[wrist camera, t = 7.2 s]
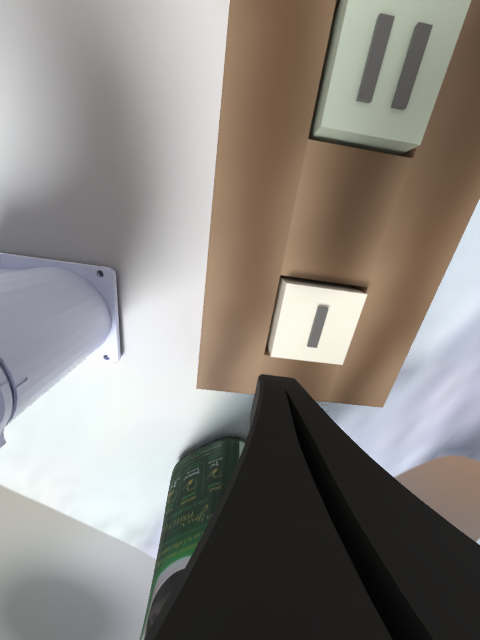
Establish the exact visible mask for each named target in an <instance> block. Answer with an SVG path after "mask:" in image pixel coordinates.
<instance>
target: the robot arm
mask: <svg viewBox="0 0 480 640" xmlns="http://www.w3.org/2000/svg"><path fill="white" fill-rule="evenodd" d="M0 260H1V262H0V448H1V447H2V446H3V445H4V444H5V443H6V441H5V438H4V434H3V431H4V427H5V426H6V425H8V424H9V423H10V422H11V421H12V420H14V419H15V418H16V417H17V416H18V415H19V414H21V413H22V412H23V411H24V410H25V409H27V408H28V407H29V406H30V405H31V404H32V403H34V402H35V401H36V400H37V399H38V398H40V397H41V396H42V395H43V394H44V393H46V392H47V391H48V390H49V389H50V388H51V387H53V386H54V385H55V384H56V383H57V382H59V381H60V380H61V379H62V378H63V377H65V376H66V375H67V374H68V373H69V372H70V371H72V370H73V369H74V368H75V367H76V366H78V365H79V364H80V363H81V362H82V361H84V360H91V361H100V362H110V363H116V362H118V361H119V360H120V358H121V353H120V335H119V318H118V300H117V282H116V273H115V271H114V270H113V269H112V268H110V267H104V266H96V265H89V264H81V263H74V262H67V261H59V260H52V259H44V258H37V257H30V256H22V255H15V254H7V253H0ZM99 270H100V271H102V272H103V276H101V275H100V274H99ZM106 355H108V356H109V357H110V358H108V357H107V356H106ZM144 640H480V545H479V544H477V543H476V542H475V541H473V540H472V539H471V538H469V537H468V536H466V535H465V534H464V533H462V532H461V531H460V530H458V529H457V528H456V527H454V526H453V525H452V524H451V523H449V522H448V521H447V520H446V519H444V518H443V517H442V516H440V515H439V514H438V513H437V512H435V511H434V510H433V509H431V508H430V507H429V506H428V505H426V504H425V503H424V502H423V501H421V500H420V499H419V498H417V497H416V496H415V495H414V494H412V493H411V492H410V491H409V490H408V489H407V488H405V487H404V486H403V485H402V484H400V483H399V482H398V481H397V480H396V479H395V478H394V477H392V476H391V475H390V474H389V473H388V472H387V471H386V470H384V469H383V468H382V467H381V466H380V465H379V464H377V463H376V462H375V461H374V460H373V459H372V458H371V457H370V456H369V455H368V454H366V453H365V452H364V451H363V450H362V449H361V448H360V447H359V446H358V445H357V444H356V443H355V442H354V441H353V440H352V439H351V438H350V437H349V436H348V435H347V434H346V433H345V432H344V431H343V430H342V429H341V428H340V427H339V426H338V425H337V424H336V423H335V422H334V421H333V420H332V419H331V418H330V417H329V416H328V415H327V414H326V412H325V411H324V410H323V409H322V408H321V407H320V406H319V405H318V404H317V403H316V402H315V400H314V399H313V398H312V397H311V396H310V395H309V394H308V393H307V391H306V390H305V389H304V388H303V387H302V386H301V385H300V384H299V383H298V381H297V380H296V379H295V378H290V377H282V376H274V375H266V374H261V375H260V376H258V380H257V385H256V390H255V395H254V400H253V405H252V410H251V418H250V431H249V434H248V437H247V440H246V443H245V445H244V448H243V450H242V453H241V455H240V458H239V460H238V463H237V465H236V467H235V470H234V472H233V474H232V476H231V478H230V481H229V483H228V485H227V487H226V489H225V492H224V494H223V496H222V498H221V500H220V502H219V504H218V506H217V508H216V510H215V512H214V514H213V516H212V518H211V520H210V521H209V523H208V525H207V527H206V529H205V531H204V533H203V535H202V537H201V539H200V541H199V543H198V545H197V546H196V548H195V550H194V552H193V554H192V556H191V558H190V559H189V561H188V563H187V565H186V567H185V569H184V570H183V572H182V574H181V575H180V577H179V579H178V581H177V582H176V584H175V586H174V588H173V589H172V591H171V593H170V595H169V596H168V598H167V600H166V602H165V603H164V605H163V607H162V609H161V610H160V612H159V614H158V616H157V617H156V619H155V621H154V623H153V624H152V626H151V628H150V629H149V631H148V633H147V635H146V636H145V638H144Z"/></svg>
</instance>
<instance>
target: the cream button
mask: <svg viewBox="0 0 480 640" xmlns="http://www.w3.org/2000/svg"><path fill="white" fill-rule="evenodd" d="M366 297H367V294H366V293H364V292H362V291H359V290H357V289H355V288H353V287H351V286H349V285H347V284H341V283H334V282H326V281H319V280H312V279H305V278H298V277H291V276H283V275H280V279H279V284H278V289H277V294H276V299H275V304H274V309H273V314H272V318H271V323H270V328H269V333H268V338H267V346H268V349H269V353H270V356H271V357H277V358H286V359H294V360H303V361H312V362H321V363H329V364H338V365H343V362H344V360H345V357H346V354H347V351H348V348H349V345H350V343H351V340H352V337H353V334H354V331H355V328H356V326H357V323H358V320H359V317H360V314H361V311H362V309H363V306H364V303H365V300H366Z"/></svg>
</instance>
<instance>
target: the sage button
mask: <svg viewBox="0 0 480 640" xmlns="http://www.w3.org/2000/svg"><path fill="white" fill-rule="evenodd" d="M470 3H471V0H341V1H340V3H339V5H338V7H337V10H336V12H335V14H334V16H333V19H332V24H331V29H330V34H329V39H328V44H327V49H326V54H325V59H324V64H323V68H322V73H321V78H320V83H319V88H318V93H317V98H316V103H315V108H314V113H313V117H312V122H311V127H310V132H309V137H308V139H310V140H316V141H321V142H327V143H332V144H338V145H343V146H349V147H354V148H359V149H365V150H370V151H376V152H381V153H387V154H392V155H397V156H398V155H400V154H403V153H405V152H407V151H409V150H411V149H413V148H415V147H417V146H419V145H420V144H421V142H422V139H423V136H424V133H425V130H426V127H427V125H428V122H429V119H430V116H431V113H432V110H433V108H434V105H435V102H436V99H437V96H438V93H439V91H440V88H441V85H442V82H443V79H444V76H445V74H446V71H447V68H448V65H449V62H450V59H451V57H452V54H453V51H454V48H455V45H456V42H457V40H458V37H459V34H460V31H461V28H462V25H463V23H464V20H465V17H466V14H467V11H468V8H469V6H470Z"/></svg>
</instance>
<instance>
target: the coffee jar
mask: <svg viewBox="0 0 480 640" xmlns="http://www.w3.org/2000/svg"><path fill="white" fill-rule="evenodd" d="M245 443H246V442H245V441H243V440H240V439H236V438H232V437H227V438H223V439H220V440H217V441H214V442H212V443H210V444H207V445H205V446H203V447H201V448H199V449H197V450H195V451H193V452H192V453H190V454H188V455H187V456H185V457H184V458H182V459H181V460H180V461H179V462H178V463H177V464H176V465H175V467H174V469H173V472H172V477H171V481H170V486H169V491H168V497H167V503H166V508H165V514H164V521H163V527H162V533H161V538H160V544H159V549H158V554H157V560H156V565H155V570H154V576H153V581H152V586H151V590H150V596H149V601H148V606H147V610H146V615H145V620H144V624H143V629H142V633H141V637H140V640H144V638H145V636H146V635H147V633H148V631H149V629H150V628H151V626H152V624H153V623H154V621H155V619H156V617H157V616H158V614H159V612H160V610H161V609H162V607H163V605H164V603H165V602H166V600H167V598H168V596H169V595H170V593H171V591H172V589H173V588H174V586H175V584H176V582H177V581H178V579H179V577H180V575H181V574H182V572H183V570H184V569H185V567H186V565H187V563H188V561H189V559H190V558H191V556H192V554H193V552H194V550H195V548H196V546H197V545H198V543H199V541H200V539H201V537H202V535H203V533H204V531H205V529H206V527H207V525H208V523H209V521H210V520H211V518H212V516H213V514H214V512H215V510H216V508H217V506H218V504H219V502H220V500H221V498H222V496H223V494H224V492H225V489H226V487H227V485H228V483H229V481H230V478H231V476H232V474H233V472H234V470H235V467H236V465H237V463H238V460H239V458H240V455H241V453H242V450H243V448H244V445H245Z"/></svg>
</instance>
